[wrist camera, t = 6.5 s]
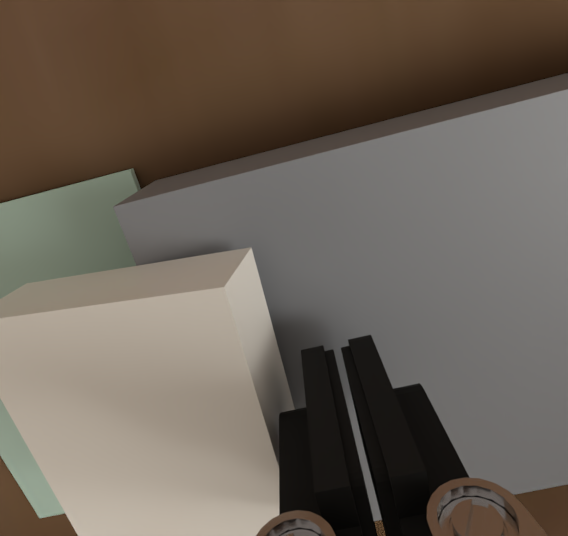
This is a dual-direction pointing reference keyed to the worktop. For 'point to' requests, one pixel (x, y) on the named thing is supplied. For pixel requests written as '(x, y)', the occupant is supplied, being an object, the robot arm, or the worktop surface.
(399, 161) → the plate
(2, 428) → the mat
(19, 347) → the tile
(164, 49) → the worktop surface
